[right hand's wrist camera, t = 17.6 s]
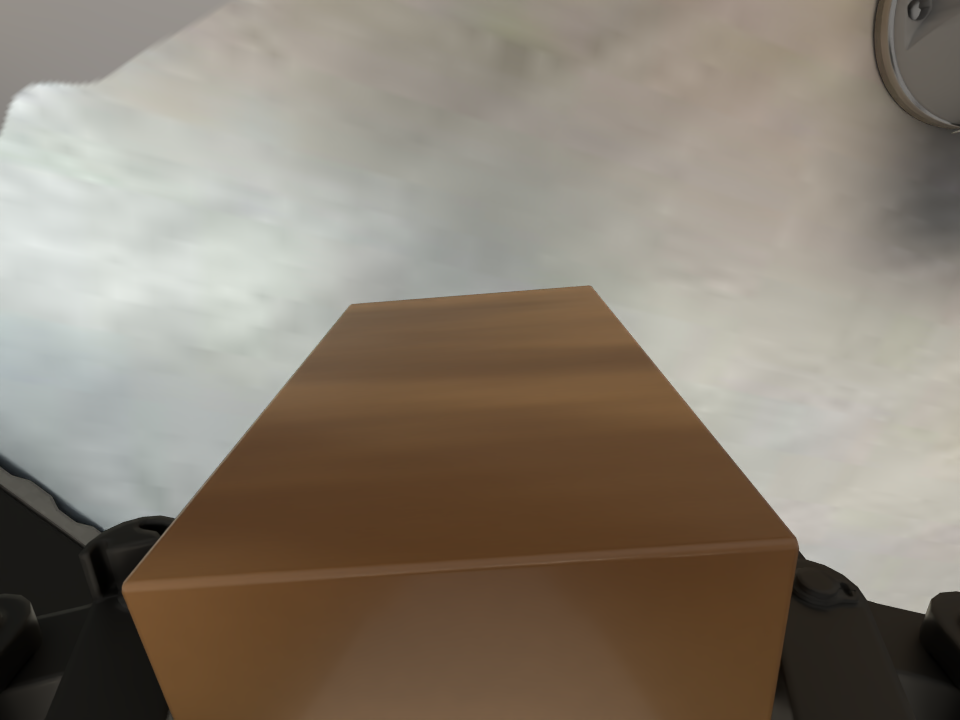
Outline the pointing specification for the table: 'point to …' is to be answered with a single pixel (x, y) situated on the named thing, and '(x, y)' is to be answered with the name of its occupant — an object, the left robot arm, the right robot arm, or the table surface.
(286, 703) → the box
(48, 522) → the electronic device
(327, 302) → the table surface
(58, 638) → the right robot arm
